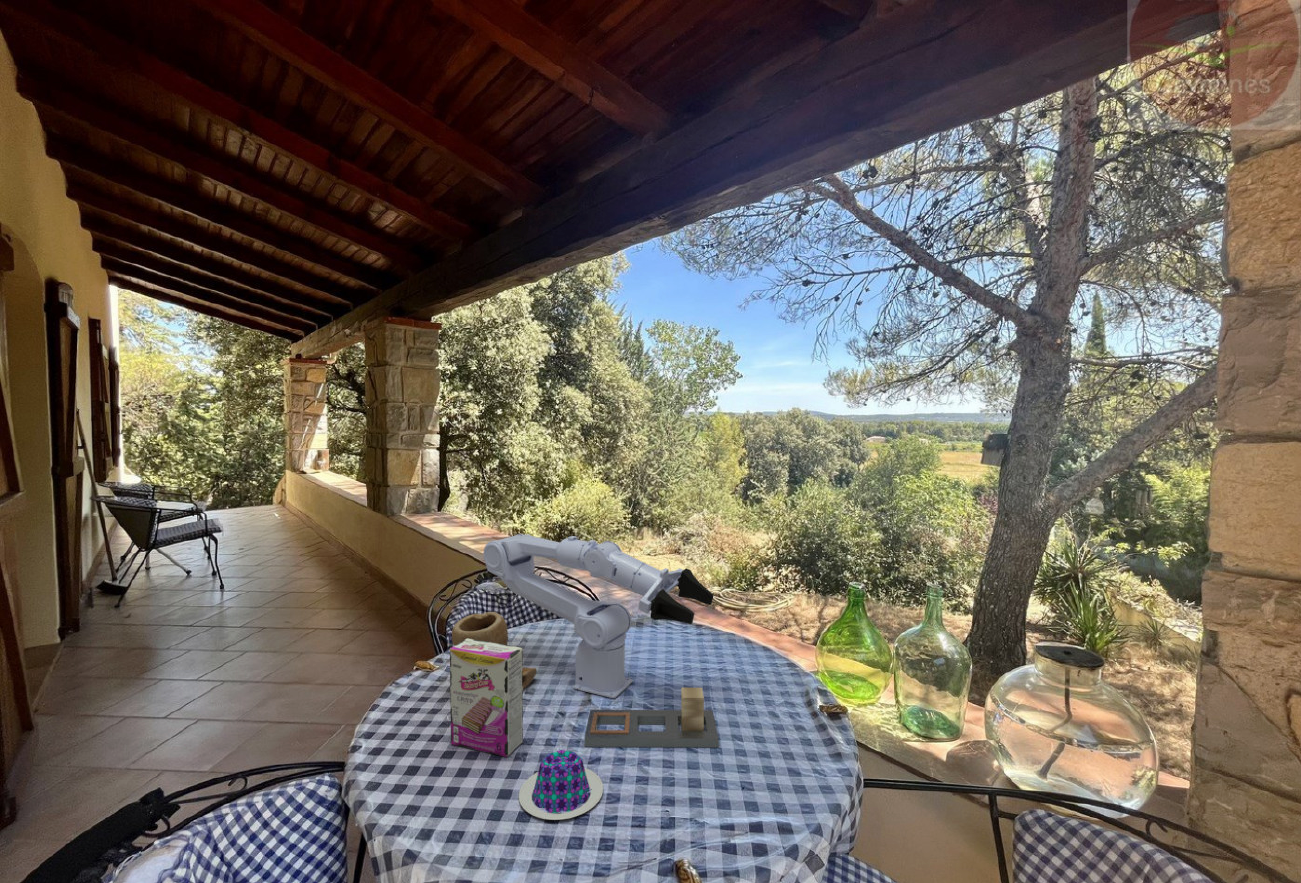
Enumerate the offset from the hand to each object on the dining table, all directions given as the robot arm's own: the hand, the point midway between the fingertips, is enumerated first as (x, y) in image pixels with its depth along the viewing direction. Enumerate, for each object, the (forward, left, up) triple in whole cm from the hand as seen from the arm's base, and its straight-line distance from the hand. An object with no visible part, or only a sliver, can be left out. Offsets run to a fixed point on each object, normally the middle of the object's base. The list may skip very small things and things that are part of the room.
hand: (702, 609), depth 104 cm
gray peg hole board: (-6, -9, -19) cm, 22 cm away
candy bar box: (-29, -24, -20) cm, 42 cm away
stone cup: (-41, -9, -20) cm, 46 cm away
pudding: (-11, -29, -20) cm, 37 cm away
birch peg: (+1, -6, -19) cm, 21 cm away
